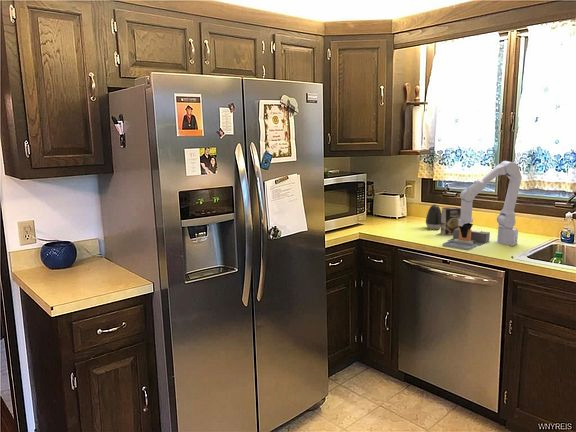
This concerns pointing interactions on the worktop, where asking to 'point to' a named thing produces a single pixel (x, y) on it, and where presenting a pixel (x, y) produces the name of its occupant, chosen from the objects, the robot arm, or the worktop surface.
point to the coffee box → (450, 220)
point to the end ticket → (466, 237)
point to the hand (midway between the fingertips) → (465, 237)
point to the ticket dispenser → (473, 237)
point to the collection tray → (459, 245)
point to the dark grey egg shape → (434, 217)
